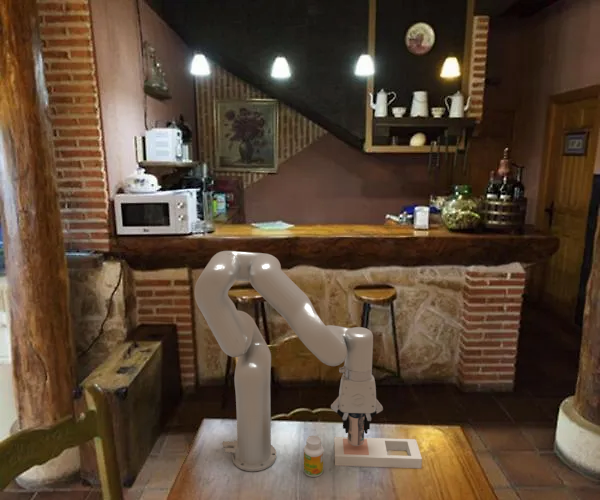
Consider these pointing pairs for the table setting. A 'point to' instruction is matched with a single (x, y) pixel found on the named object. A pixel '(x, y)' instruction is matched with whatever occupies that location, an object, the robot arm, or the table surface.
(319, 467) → the supplement bottle
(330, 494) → the table surface
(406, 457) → the well board
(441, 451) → the table surface
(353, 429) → the beer can
